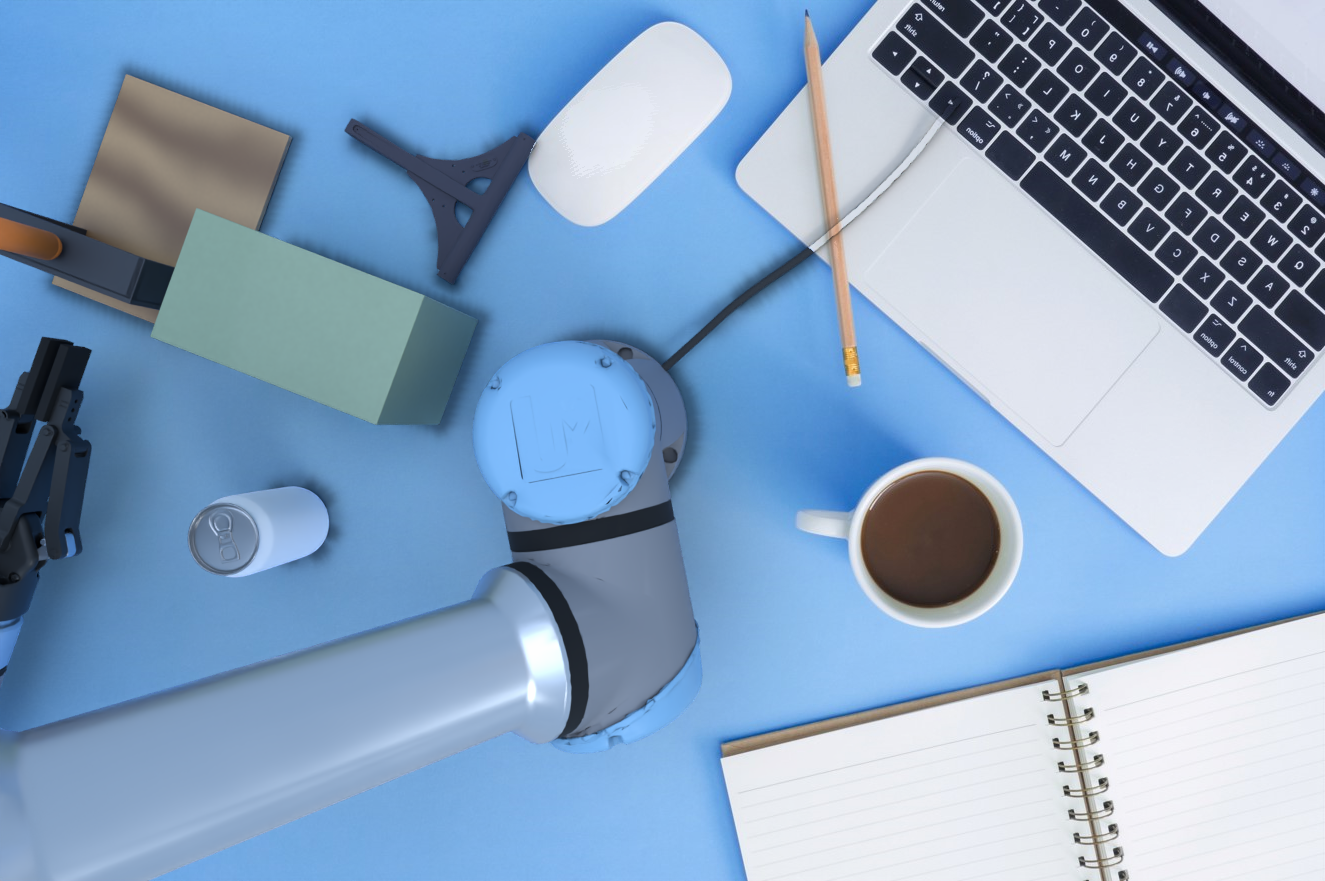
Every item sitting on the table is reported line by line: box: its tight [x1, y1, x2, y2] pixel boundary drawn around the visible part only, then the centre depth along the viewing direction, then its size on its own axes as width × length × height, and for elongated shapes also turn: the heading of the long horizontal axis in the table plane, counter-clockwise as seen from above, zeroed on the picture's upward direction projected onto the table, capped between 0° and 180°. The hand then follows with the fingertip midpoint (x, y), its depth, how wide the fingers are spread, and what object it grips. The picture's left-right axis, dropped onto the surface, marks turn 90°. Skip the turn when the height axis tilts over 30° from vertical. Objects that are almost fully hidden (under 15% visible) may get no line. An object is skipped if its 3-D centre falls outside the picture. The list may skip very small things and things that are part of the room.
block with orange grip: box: [0, 202, 175, 310], centre depth 69 cm, size 4×14×19 cm, turn 69°
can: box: [187, 485, 330, 578], centre depth 73 cm, size 6×6×12 cm
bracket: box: [344, 117, 537, 285], centre depth 77 cm, size 14×15×3 cm
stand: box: [149, 208, 479, 426], centre depth 71 cm, size 10×18×15 cm, turn 69°
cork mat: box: [51, 73, 293, 325], centre depth 79 cm, size 20×16×1 cm
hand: (67, 343), depth 73 cm, fingers closed
